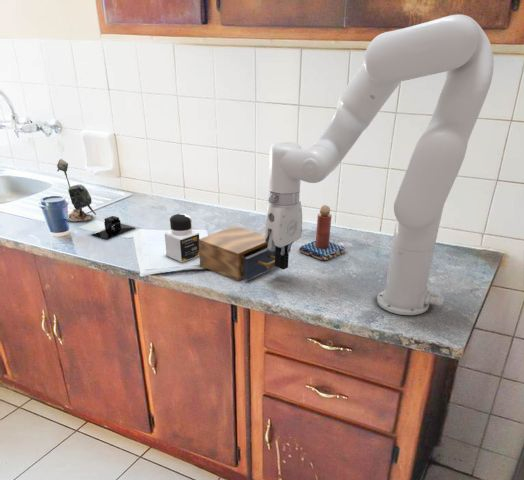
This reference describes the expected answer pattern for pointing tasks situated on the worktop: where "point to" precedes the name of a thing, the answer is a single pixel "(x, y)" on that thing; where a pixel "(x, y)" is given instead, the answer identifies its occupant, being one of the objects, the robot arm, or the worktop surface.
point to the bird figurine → (77, 197)
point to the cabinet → (228, 250)
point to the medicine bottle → (182, 239)
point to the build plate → (112, 228)
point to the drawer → (257, 262)
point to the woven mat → (322, 250)
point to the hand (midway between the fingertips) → (281, 267)
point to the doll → (323, 227)
